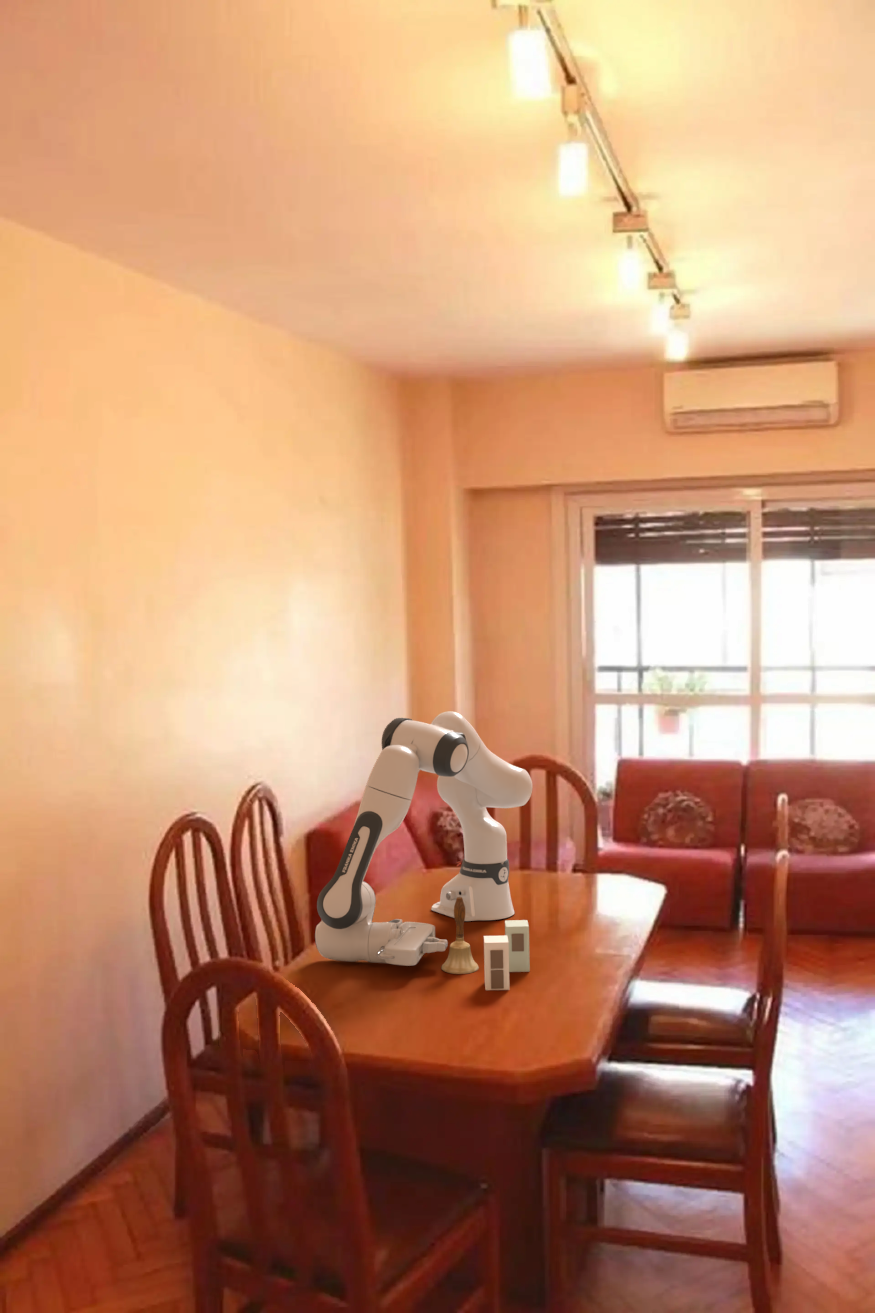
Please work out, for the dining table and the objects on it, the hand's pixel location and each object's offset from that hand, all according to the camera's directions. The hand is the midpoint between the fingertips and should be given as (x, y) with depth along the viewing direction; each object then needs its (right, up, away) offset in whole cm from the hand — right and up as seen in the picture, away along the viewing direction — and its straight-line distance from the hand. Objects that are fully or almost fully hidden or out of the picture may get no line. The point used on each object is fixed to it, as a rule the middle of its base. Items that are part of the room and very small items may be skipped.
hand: (446, 945), depth 253 cm
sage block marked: (+16, -5, -1) cm, 16 cm away
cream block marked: (+11, -5, -13) cm, 18 cm away
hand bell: (+3, -5, -1) cm, 6 cm away
